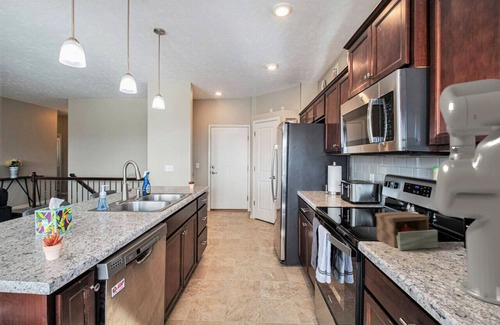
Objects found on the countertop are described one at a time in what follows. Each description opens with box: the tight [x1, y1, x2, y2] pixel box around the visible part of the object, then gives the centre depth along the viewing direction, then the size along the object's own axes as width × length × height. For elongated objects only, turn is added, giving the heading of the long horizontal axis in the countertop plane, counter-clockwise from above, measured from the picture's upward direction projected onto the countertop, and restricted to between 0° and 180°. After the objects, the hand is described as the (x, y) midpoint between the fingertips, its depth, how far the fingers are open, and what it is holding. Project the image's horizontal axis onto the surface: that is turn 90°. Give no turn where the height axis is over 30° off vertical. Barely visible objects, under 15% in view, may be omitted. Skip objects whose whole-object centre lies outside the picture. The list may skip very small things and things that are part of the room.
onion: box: [399, 225, 412, 232], centre depth 114 cm, size 6×6×8 cm
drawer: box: [396, 228, 439, 251], centre depth 114 cm, size 15×19×8 cm
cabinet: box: [374, 210, 430, 249], centre depth 117 cm, size 12×19×14 cm
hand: (464, 196), depth 94 cm, fingers closed
